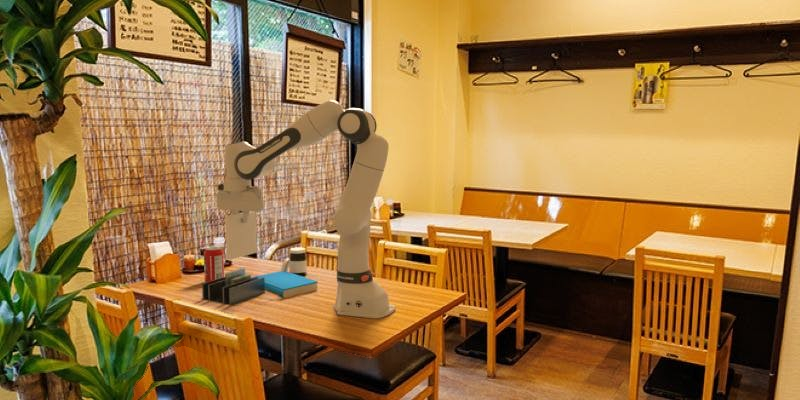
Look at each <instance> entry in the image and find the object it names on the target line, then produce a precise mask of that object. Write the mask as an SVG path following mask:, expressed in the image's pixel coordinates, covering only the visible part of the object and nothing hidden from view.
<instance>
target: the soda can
mask: <svg viewBox="0 0 800 400" xmlns="http://www.w3.org/2000/svg"><path fill="white" fill-rule="evenodd" d="M224 258H225V257H224V251H223V249H222V247H221V246H207V247H205V250H204V252H203V267H204V273H203V274H204V283H206V282H209V281H212V280H216V279H219V278H222V277H225V263H224V262H225V261H224Z"/></svg>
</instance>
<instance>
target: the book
mask: <svg viewBox="0 0 800 400" xmlns="http://www.w3.org/2000/svg"><path fill="white" fill-rule="evenodd" d="M256 276H258V279H260V278H263V277H264V280H265V290H266V291H267V290H268V291H270V292H273V293H275V294H277V295H278V294H279V295H278V297H280V298H282V299H285V298H286V299H287V298H289V297H293V296H297V295H302V294H306V293H307V294H308V293H311V292H315V291H317V290H318V283H319V282H318V281H317V280H315V279H311V278H308V277H306V276H299V275H296V274H293V273H290V271H287V272H286V271H281V270H280V271H275V272H270V273H265V274H260V275H255V276H251V278H253V277H256Z"/></svg>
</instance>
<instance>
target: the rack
mask: <svg viewBox="0 0 800 400" xmlns="http://www.w3.org/2000/svg"><path fill="white" fill-rule="evenodd" d="M255 276H256V277H255ZM255 276H252V275H251V274H250V273H249V274H248V273H247V274H246V268H244V267H243V268H238V269H234V270H231V271H228V272H224V277H222V278H219V279H216V280H212V281H209V282H203V283H201V291H202V292H201V293H202V298H201V300H204V301H208V302H214V303H218V304H222V305H223V304H224V305H228V306H235V305H237V304H240V303H241V302H242V303H243V302H245V301H248V300H250V299H253V298H256V297H259V296H261V295H265V294H266V291H265V290H266V289H265V280H264V277H263V278H260V279H258V276H259V275H255ZM251 277H253V278H251Z"/></svg>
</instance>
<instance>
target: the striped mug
mask: <svg viewBox="0 0 800 400" xmlns="http://www.w3.org/2000/svg"><path fill="white" fill-rule="evenodd" d="M307 267H308V266H307V253H306V248H305V247H300V246H299V247H298V246H297V247H291V248H290V249H289V255H288V257H287V258H286V259H284V261H283V263H282V265H281V268H280V269H281V270H280V271H286V272H290V273H293V274H296V275H299V276H302V277H304V276H306V274H307V272H308V271H307V269H308V268H307Z"/></svg>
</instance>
